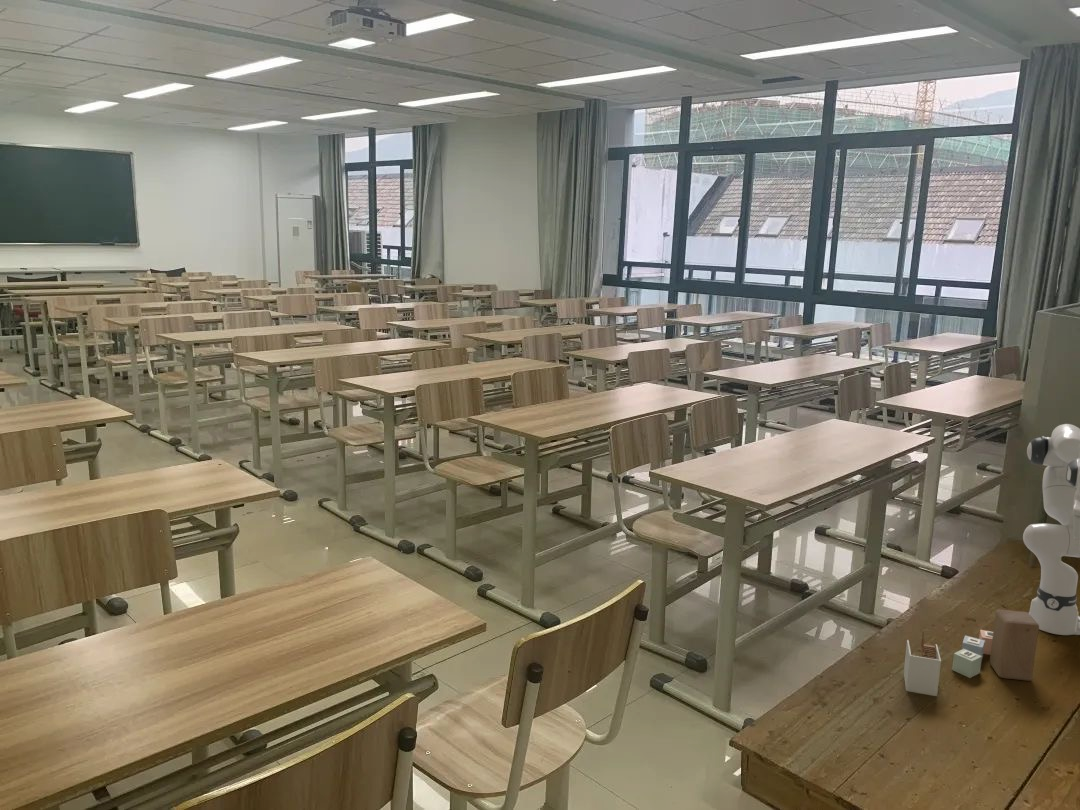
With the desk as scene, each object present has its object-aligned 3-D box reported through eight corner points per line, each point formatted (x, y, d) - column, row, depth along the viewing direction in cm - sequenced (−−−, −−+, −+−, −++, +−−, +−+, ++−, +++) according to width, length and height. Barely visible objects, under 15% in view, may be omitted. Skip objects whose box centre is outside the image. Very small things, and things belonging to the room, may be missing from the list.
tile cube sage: (961, 665, 263) (964, 647, 262) (979, 673, 258) (982, 654, 257) (951, 669, 260) (954, 651, 259) (969, 678, 255) (972, 659, 254)
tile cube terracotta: (978, 645, 276) (980, 628, 275) (997, 648, 274) (999, 631, 273) (980, 653, 271) (982, 635, 270) (999, 656, 269) (1002, 639, 267)
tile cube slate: (963, 651, 272) (965, 634, 271) (982, 656, 269) (985, 639, 267) (960, 658, 267) (962, 641, 266) (980, 663, 264) (982, 646, 263)
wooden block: (1032, 682, 253) (1040, 624, 249) (998, 678, 255) (1006, 621, 251) (1020, 666, 262) (1028, 610, 258) (988, 663, 264) (995, 608, 260)
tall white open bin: (932, 679, 255) (938, 632, 252) (936, 697, 245) (942, 648, 242) (903, 674, 258) (908, 628, 255) (906, 692, 248) (911, 643, 245)
